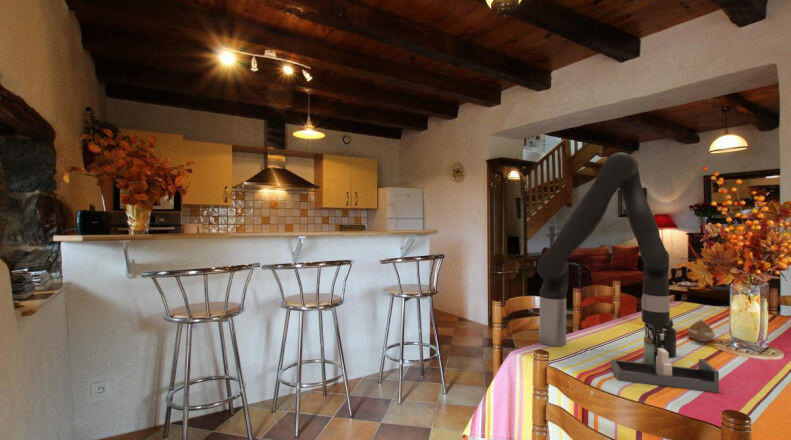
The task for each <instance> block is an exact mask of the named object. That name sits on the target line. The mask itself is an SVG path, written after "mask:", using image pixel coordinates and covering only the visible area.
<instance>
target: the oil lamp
mask: <svg viewBox="0 0 791 440" xmlns="http://www.w3.org/2000/svg"><path fill="white" fill-rule="evenodd" d="M686 332H687V334H688V336H689V337H690V338H691V339H692V340H694V341H697V342H703V343H704V342H705V343H707V342H710V341H712V340H713V339H714V338H715V335H716V332H714V330H713V328H712V327H711V326H710V325H709V324H708V323H707V322H705V321H704V320H703V319H700V320H698V321H696V322H694V323H693V324H691V325H690V326H689V327H686Z"/></svg>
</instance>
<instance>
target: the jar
mask: <svg viewBox="0 0 791 440" xmlns="http://www.w3.org/2000/svg"><path fill="white" fill-rule="evenodd" d="M655 342H656V341H655ZM666 345H667V344H666ZM659 348H661V345H659ZM643 363H649V364H655V363H654V345H653V344H652V341H651V338H650V337H645V336H644V337H643Z"/></svg>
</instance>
